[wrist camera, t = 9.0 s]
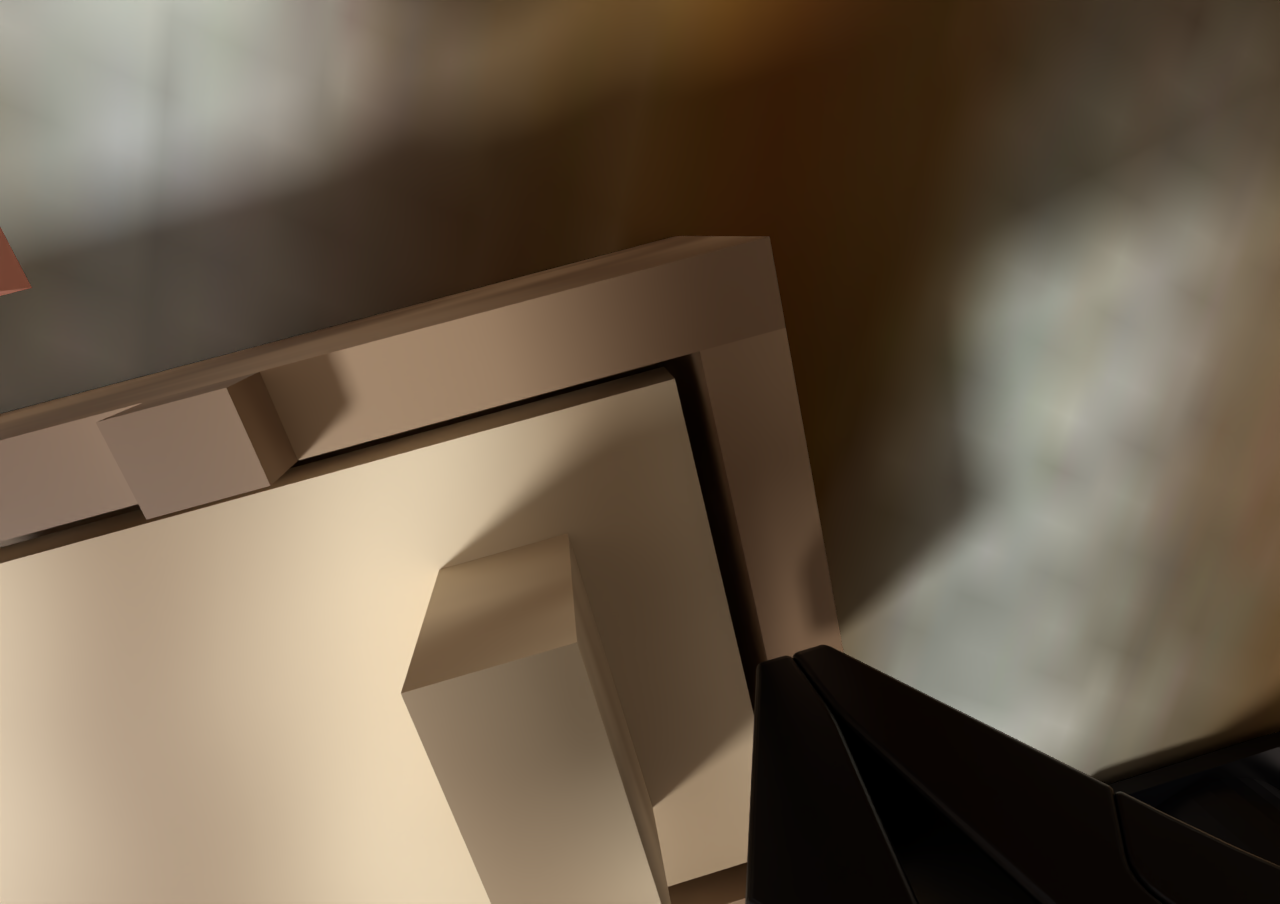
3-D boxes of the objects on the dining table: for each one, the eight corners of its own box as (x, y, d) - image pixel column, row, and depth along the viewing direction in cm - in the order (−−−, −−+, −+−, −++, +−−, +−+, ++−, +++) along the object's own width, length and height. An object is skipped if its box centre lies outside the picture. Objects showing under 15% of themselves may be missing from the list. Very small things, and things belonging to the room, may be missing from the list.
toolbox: (676, 235, 13) (795, 237, 7) (774, 684, 16) (914, 955, 10) (-229, 473, 12) (-1008, 714, 6) (66, 896, 15) (-248, 1330, 9)
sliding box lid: (663, 366, 9) (726, 435, 6) (769, 807, 11) (853, 1020, 8) (-508, 686, 8) (-1129, 952, 5) (-133, 1086, 10) (-409, 1433, 7)
